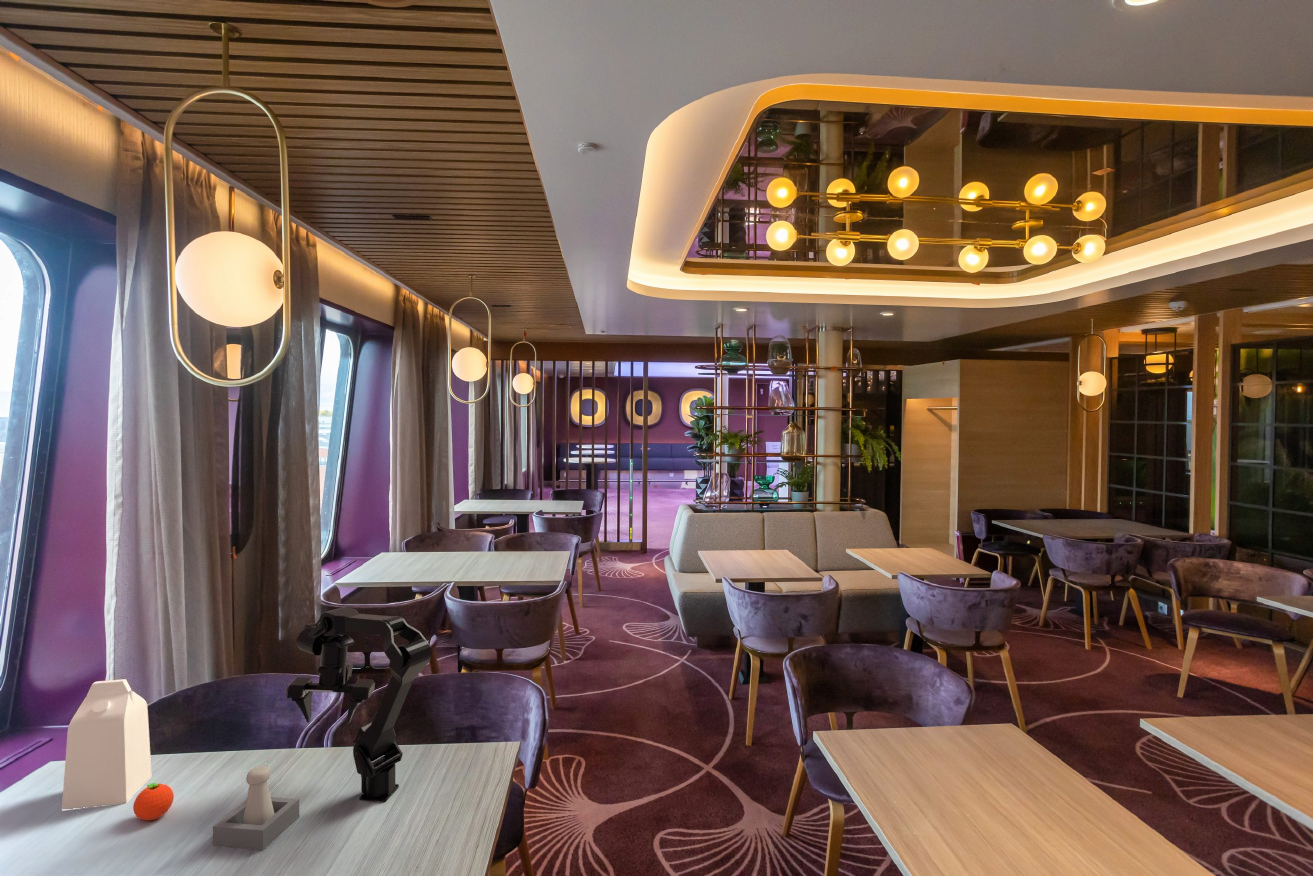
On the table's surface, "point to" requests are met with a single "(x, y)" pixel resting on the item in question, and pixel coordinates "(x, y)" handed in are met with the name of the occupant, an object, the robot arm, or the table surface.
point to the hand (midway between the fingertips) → (328, 722)
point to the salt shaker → (258, 797)
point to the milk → (107, 747)
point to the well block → (255, 826)
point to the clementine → (153, 801)
